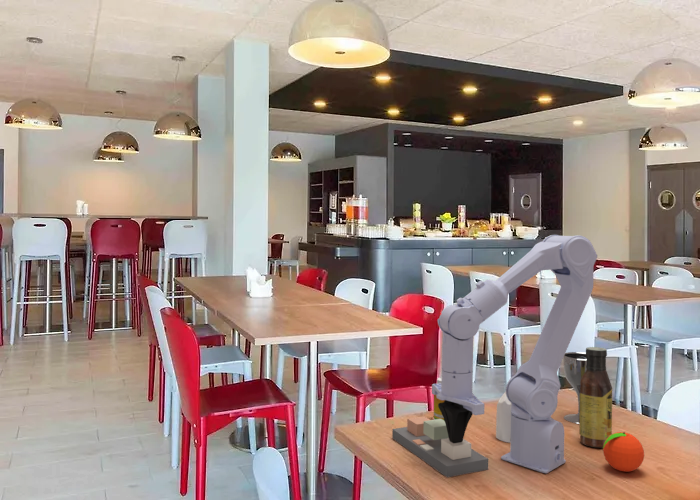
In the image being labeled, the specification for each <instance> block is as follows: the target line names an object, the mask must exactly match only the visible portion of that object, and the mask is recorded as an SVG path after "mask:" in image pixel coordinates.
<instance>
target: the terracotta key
mask: <svg viewBox="0 0 700 500" xmlns="http://www.w3.org/2000/svg"><path fill="white" fill-rule="evenodd" d="M406 420H407V423H406V425H407V426H406V427H407V430H408V431H409V432H411V433H412V434H414V435H415V436H417V437H418V436H424V435H425V434H423V428H424V421H428V420H430V419H429V418H427V416H424V415H423V416H417V417H416V416H415V417H409V418H406Z"/></svg>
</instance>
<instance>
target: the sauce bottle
mask: <svg viewBox="0 0 700 500" xmlns="http://www.w3.org/2000/svg"><path fill="white" fill-rule="evenodd" d="M585 353H586V356H587V365H586V368H587V370H586V372H585V373H584V375H583V376H582V378H581V381H580V415H579V424H578V425H579V428H578V429H579V432H578V433H579V441H580V443H582V445H585V446H586V447H589V448H595V449H596V448H597V449H599V448H600V449H603V446H604V442H605V441H606V439H607V438H608V437H609V436H610V435H612V434H613V430H612V429H613V386H612V383H611V380H610V377H609V374H608V371H607V363H606V362H607V356H608V350H607V349H606V348H604V347H597V346H589V347H586V348H585Z"/></svg>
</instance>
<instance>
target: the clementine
mask: <svg viewBox="0 0 700 500" xmlns="http://www.w3.org/2000/svg"><path fill="white" fill-rule="evenodd" d="M602 450H603V451H602V452H603V457H604V459H605V460H606V462H607V463H608V465H610V466H611V467H612V468H613V469H615V470H617V471H620V472H625V473H626V472H629V473H630V472H633V471H635V470H637V469H638V468H640V467H641V465H642V464H643V462H644V459H645V450H644V448H643V444H642V443H641V442H640V440H639V439H638V438H637V437H635V436H634V435H633V434H631V433H628V432H626V431H617V432H614V433H612V435H610V436H609V437H608V438H607V439H606V441H605V442H604V446H603V448H602Z"/></svg>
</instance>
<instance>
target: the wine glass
mask: <svg viewBox="0 0 700 500" xmlns="http://www.w3.org/2000/svg"><path fill="white" fill-rule="evenodd" d="M562 363H563V371H564V377H565V378H566V380H567V382H568V383H569V384H570V386H571V387H572V388H573V389H574V391H575V393H576V395H577V403H578V404H577V405H578V406H577V407H578V411H577V413H569V414H565V415H564V416H563V419H564V420H565V421H567V422H570V423H573V424H578V425H579V415H580V381H581V378H582V376H583V375H584V373H585V372H586V370H587V368H586V365H587V356H586V352H581V351H580V352H579V351H578V352H576V351H575V352H574V351H570V352H565V355H564V357H563V359H562Z"/></svg>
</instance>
